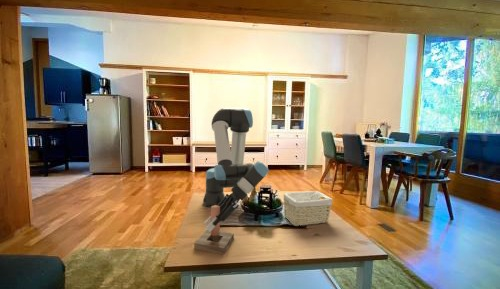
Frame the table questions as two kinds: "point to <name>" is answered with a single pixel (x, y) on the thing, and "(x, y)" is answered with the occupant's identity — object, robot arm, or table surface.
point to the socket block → (212, 246)
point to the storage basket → (307, 207)
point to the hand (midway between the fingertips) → (207, 227)
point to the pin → (214, 212)
